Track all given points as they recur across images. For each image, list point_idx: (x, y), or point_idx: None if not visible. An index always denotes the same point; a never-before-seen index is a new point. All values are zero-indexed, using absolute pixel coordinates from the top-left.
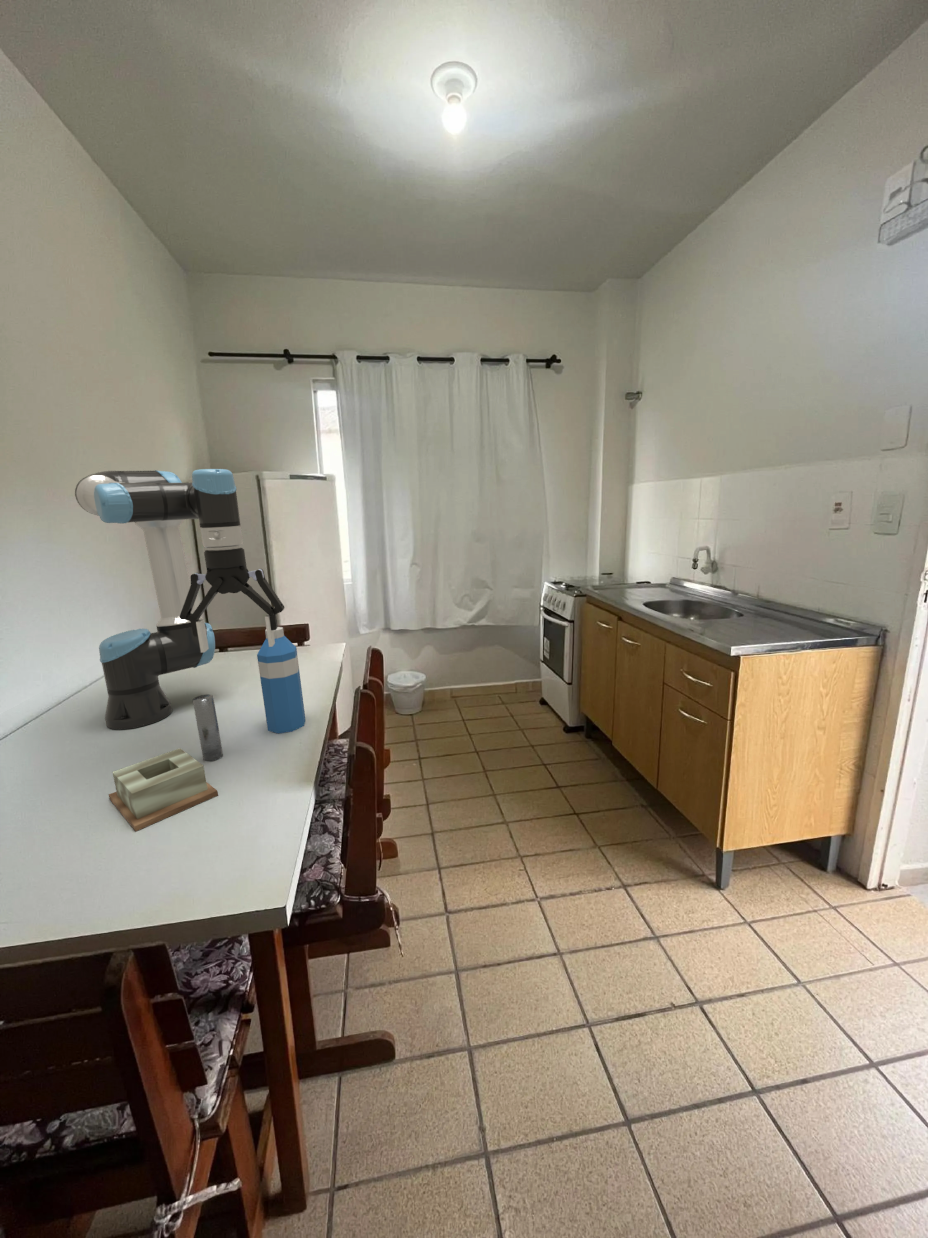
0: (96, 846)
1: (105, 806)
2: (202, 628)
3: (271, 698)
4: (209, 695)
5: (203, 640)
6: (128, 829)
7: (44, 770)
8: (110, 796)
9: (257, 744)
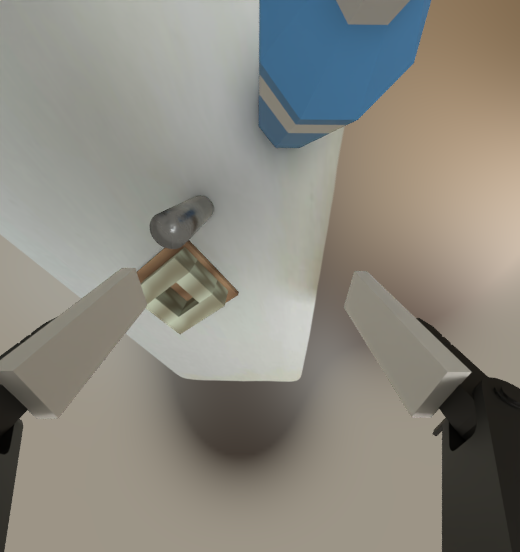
0: (173, 330)
1: None
2: (81, 360)
3: (280, 138)
4: (175, 220)
5: (122, 327)
6: None
7: None
8: None
9: (252, 183)
